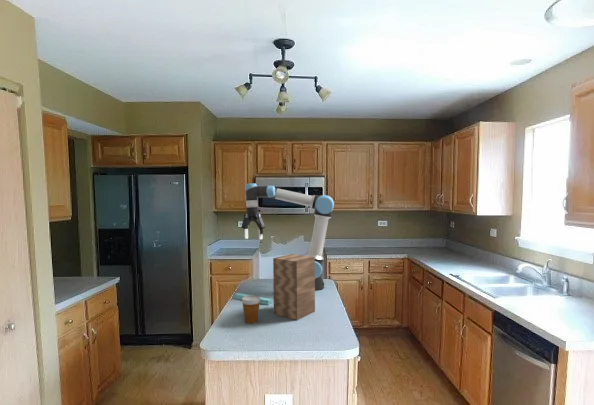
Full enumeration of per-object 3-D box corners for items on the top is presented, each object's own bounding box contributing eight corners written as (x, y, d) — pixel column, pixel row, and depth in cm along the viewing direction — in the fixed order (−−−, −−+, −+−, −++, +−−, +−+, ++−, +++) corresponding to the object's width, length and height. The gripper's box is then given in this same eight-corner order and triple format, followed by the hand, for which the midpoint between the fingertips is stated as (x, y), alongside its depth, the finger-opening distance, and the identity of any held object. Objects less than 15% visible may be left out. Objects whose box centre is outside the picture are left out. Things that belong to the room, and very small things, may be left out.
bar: (234, 298, 201) (234, 294, 201) (237, 297, 204) (237, 292, 204) (268, 305, 188) (268, 300, 188) (271, 304, 191) (271, 299, 190)
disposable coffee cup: (245, 326, 156) (245, 301, 156) (239, 320, 165) (239, 296, 165) (263, 322, 161) (263, 298, 161) (256, 316, 169) (256, 294, 169)
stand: (273, 313, 174) (273, 258, 173) (292, 305, 186) (291, 254, 186) (297, 320, 164) (296, 261, 164) (315, 311, 177) (314, 256, 176)
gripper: (235, 207, 218) (236, 239, 218) (261, 206, 202) (263, 240, 202) (243, 207, 224) (245, 237, 224) (269, 206, 208) (271, 238, 208)
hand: (253, 239), depth 213 cm, fingers open, 13 cm apart
